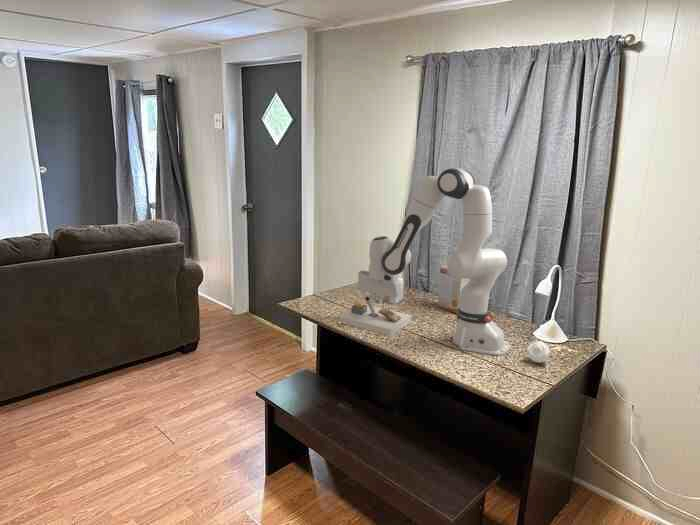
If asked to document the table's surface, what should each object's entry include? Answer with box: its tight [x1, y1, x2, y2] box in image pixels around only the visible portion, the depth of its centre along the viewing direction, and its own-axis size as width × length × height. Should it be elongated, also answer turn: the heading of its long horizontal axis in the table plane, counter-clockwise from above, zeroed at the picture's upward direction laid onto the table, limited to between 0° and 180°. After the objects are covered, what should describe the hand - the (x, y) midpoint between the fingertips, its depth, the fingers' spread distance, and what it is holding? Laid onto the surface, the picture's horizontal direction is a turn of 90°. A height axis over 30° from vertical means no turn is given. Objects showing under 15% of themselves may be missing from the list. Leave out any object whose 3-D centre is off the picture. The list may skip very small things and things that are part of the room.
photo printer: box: [388, 277, 404, 305], centre depth 244 cm, size 10×4×12 cm, turn 149°
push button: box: [355, 301, 364, 308], centre depth 220 cm, size 3×3×2 cm
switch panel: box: [338, 303, 412, 337], centre depth 216 cm, size 26×20×6 cm
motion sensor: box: [526, 340, 551, 364], centre depth 181 cm, size 8×8×8 cm
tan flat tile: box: [378, 307, 401, 322], centre depth 212 cm, size 9×5×1 cm, turn 59°
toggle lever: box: [364, 295, 375, 314], centre depth 217 cm, size 2×2×8 cm
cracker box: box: [437, 264, 470, 315], centre depth 233 cm, size 14×6×21 cm, turn 34°
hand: (377, 303), depth 214 cm, fingers closed
